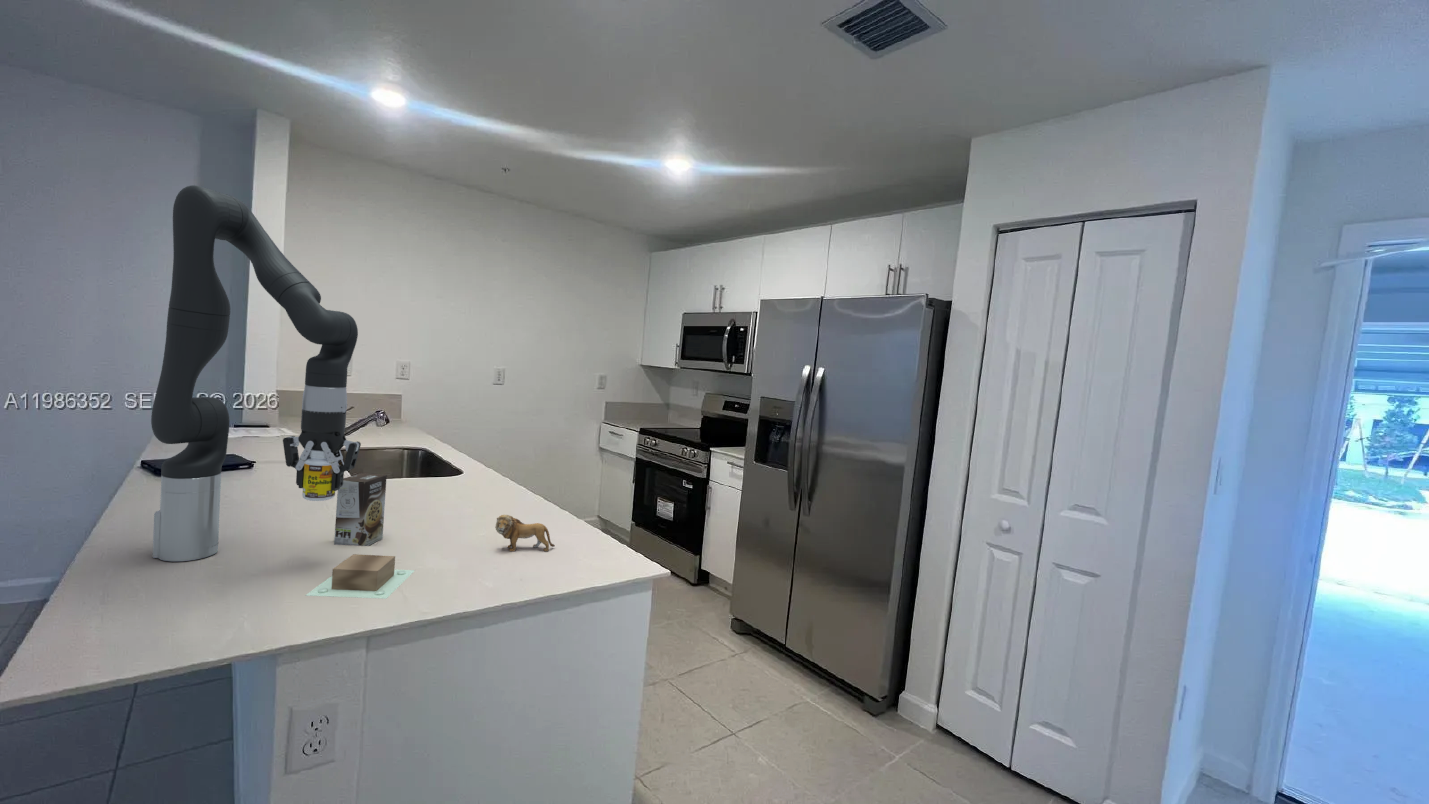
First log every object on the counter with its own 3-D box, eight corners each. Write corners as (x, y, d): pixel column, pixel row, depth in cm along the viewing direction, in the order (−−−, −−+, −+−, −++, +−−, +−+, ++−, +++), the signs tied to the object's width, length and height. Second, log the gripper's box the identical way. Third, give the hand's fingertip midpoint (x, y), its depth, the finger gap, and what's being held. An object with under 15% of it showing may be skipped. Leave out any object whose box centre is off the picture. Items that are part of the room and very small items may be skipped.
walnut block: (331, 589, 108) (332, 568, 107) (352, 573, 115) (353, 554, 115) (376, 591, 109) (377, 570, 108) (394, 575, 117) (395, 556, 116)
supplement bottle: (301, 502, 113) (304, 452, 112) (303, 495, 118) (305, 446, 117) (334, 501, 116) (338, 452, 116) (335, 494, 121) (338, 447, 120)
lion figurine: (494, 554, 137) (496, 518, 136) (492, 547, 142) (495, 511, 141) (556, 551, 143) (559, 516, 142) (553, 544, 148) (555, 510, 147)
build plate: (304, 601, 104) (305, 593, 104) (343, 572, 118) (343, 565, 118) (386, 604, 106) (386, 596, 106) (414, 575, 120) (415, 568, 120)
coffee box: (360, 550, 130) (364, 482, 129) (332, 547, 131) (336, 479, 129) (384, 538, 140) (388, 474, 138) (358, 535, 140) (362, 471, 139)
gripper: (274, 406, 111) (269, 490, 112) (353, 413, 113) (348, 495, 114) (297, 402, 118) (292, 482, 120) (370, 409, 121) (365, 487, 122)
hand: (319, 488), depth 117 cm, fingers closed on supplement bottle, 5 cm apart
